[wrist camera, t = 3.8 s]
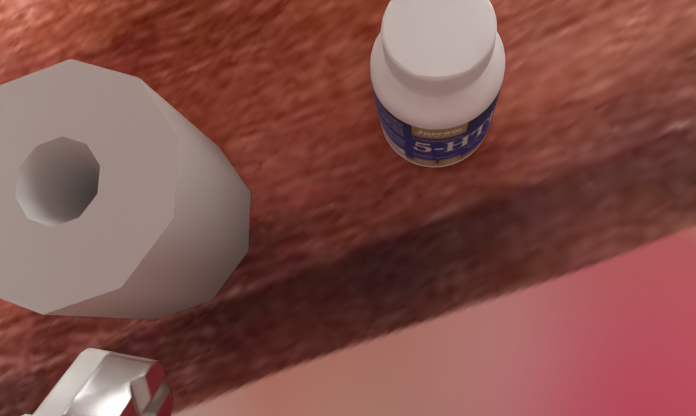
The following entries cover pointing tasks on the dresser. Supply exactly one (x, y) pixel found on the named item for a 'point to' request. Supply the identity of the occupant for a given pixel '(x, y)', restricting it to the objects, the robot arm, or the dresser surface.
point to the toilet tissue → (111, 199)
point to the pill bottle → (437, 77)
